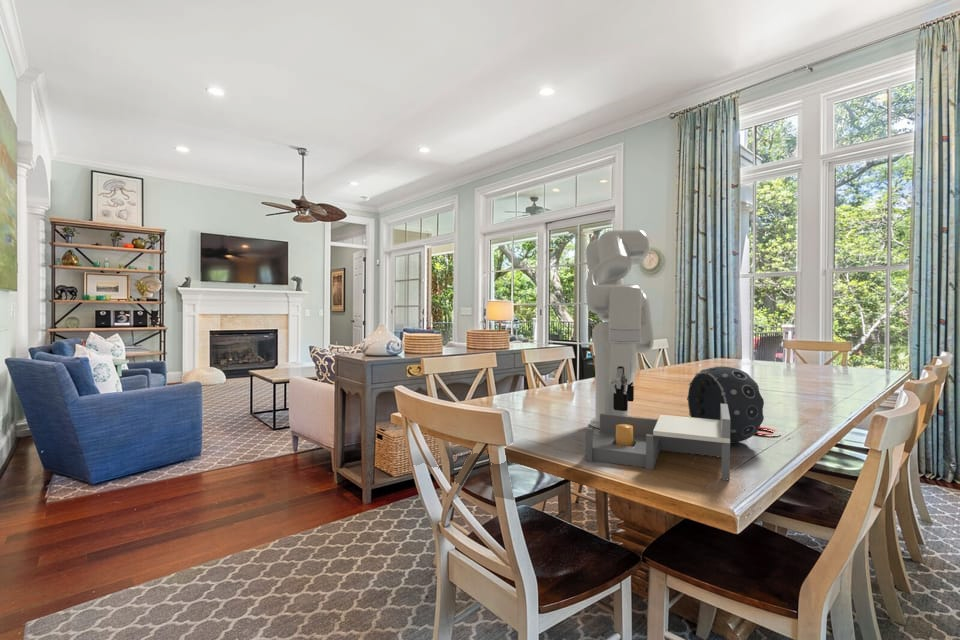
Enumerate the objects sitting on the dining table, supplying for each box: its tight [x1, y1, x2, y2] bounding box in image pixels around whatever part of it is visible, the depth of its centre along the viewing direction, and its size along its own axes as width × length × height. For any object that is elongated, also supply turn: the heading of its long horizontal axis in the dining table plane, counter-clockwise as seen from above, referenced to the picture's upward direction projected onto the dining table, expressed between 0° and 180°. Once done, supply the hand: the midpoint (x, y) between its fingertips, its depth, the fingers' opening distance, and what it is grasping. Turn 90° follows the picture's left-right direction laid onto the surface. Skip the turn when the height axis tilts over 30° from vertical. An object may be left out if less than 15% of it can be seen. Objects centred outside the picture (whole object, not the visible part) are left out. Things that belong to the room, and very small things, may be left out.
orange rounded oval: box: [616, 424, 633, 447], centre depth 115 cm, size 4×4×7 cm
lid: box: [653, 403, 731, 444], centre depth 108 cm, size 17×15×5 cm
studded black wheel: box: [686, 365, 765, 444], centre depth 126 cm, size 11×20×20 cm, turn 6°
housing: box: [584, 414, 731, 481], centre depth 112 cm, size 17×30×8 cm, turn 64°
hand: (623, 405), depth 116 cm, fingers open, 9 cm apart
